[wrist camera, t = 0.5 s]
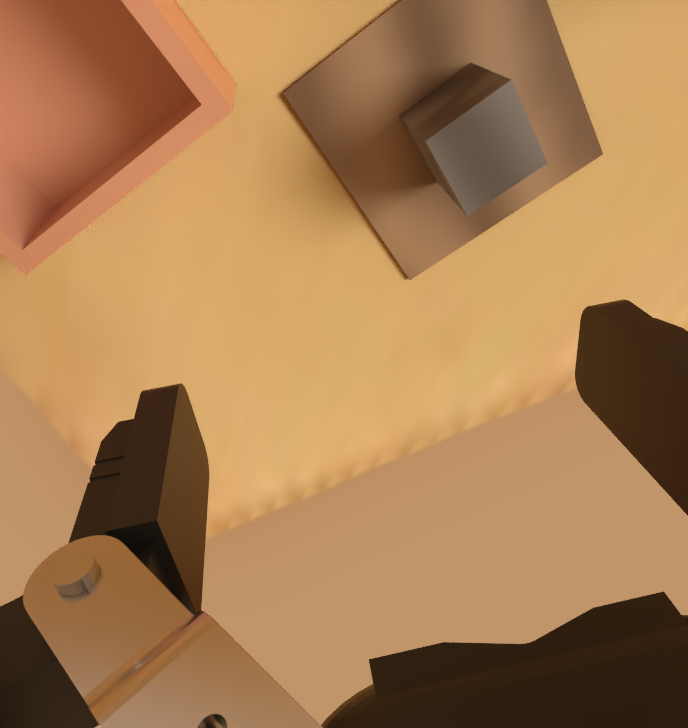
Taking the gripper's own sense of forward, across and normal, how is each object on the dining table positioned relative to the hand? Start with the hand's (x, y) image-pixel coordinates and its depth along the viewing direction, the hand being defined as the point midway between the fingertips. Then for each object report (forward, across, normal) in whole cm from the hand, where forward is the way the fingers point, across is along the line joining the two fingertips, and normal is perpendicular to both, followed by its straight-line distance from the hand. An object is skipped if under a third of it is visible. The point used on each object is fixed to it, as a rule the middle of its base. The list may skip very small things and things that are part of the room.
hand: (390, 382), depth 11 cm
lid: (+20, -8, -1) cm, 22 cm away
